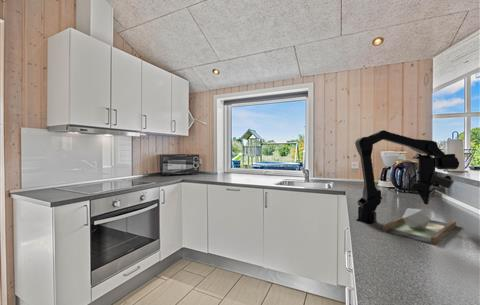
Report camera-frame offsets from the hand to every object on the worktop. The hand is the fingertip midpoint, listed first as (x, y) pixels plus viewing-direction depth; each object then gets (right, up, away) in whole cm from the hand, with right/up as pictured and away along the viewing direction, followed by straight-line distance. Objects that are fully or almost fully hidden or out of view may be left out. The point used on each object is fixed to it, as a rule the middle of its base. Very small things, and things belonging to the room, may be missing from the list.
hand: (426, 204), depth 95 cm
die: (-8, -9, -4) cm, 13 cm away
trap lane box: (-5, -10, -4) cm, 12 cm away
